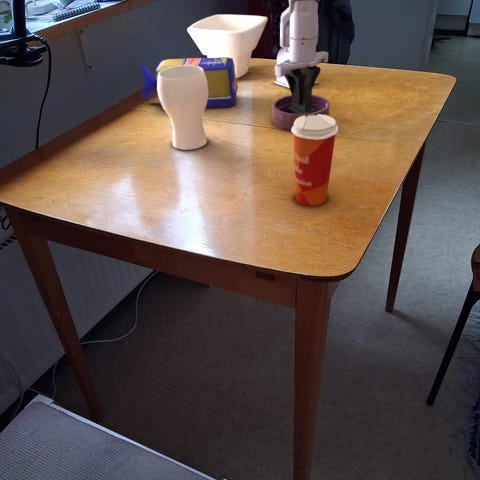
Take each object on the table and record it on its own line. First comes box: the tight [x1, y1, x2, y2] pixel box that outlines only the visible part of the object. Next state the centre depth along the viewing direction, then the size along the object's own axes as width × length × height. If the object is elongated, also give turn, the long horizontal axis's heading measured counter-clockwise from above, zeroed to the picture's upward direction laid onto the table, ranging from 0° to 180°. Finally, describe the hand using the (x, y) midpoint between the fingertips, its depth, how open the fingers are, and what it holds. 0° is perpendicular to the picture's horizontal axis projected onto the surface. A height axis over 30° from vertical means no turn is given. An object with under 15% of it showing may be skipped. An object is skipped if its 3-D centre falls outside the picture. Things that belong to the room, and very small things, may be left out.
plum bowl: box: [271, 94, 331, 132], centre depth 114 cm, size 13×13×4 cm
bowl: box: [187, 13, 269, 79], centre depth 138 cm, size 19×19×14 cm
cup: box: [156, 65, 208, 151], centre depth 104 cm, size 11×11×15 cm
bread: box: [139, 57, 239, 110], centre depth 125 cm, size 10×25×10 cm, turn 85°
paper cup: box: [290, 114, 339, 207], centre depth 84 cm, size 8×8×14 cm
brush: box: [287, 85, 317, 114], centre depth 113 cm, size 6×4×7 cm, turn 38°
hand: (300, 102), depth 113 cm, fingers closed on brush, 2 cm apart
